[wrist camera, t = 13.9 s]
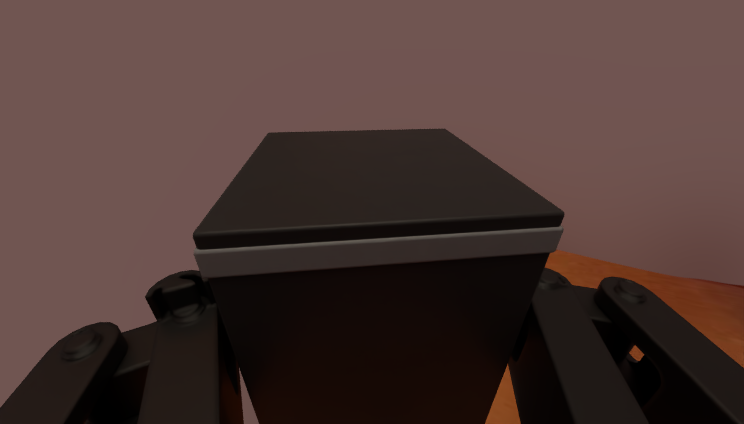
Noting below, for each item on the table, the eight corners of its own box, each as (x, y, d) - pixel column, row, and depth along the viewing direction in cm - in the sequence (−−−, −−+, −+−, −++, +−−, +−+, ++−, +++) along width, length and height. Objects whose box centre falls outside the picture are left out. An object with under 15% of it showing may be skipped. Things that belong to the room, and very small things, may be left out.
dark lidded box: (422, 315, 16) (446, 127, 11) (472, 464, 10) (572, 213, 5) (299, 327, 15) (266, 131, 10) (280, 494, 9) (184, 236, 4)
